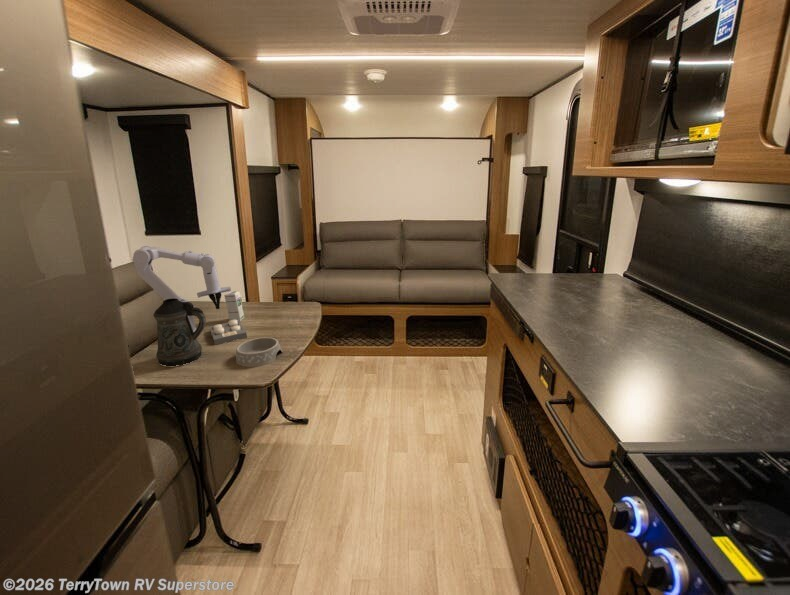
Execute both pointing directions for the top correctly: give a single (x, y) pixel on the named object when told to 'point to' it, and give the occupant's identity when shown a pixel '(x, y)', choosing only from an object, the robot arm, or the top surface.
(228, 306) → the syrup box
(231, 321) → the button back right
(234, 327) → the button front right
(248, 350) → the dog bowl
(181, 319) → the beer stein
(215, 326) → the button back left
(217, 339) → the button board
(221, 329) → the button front left
